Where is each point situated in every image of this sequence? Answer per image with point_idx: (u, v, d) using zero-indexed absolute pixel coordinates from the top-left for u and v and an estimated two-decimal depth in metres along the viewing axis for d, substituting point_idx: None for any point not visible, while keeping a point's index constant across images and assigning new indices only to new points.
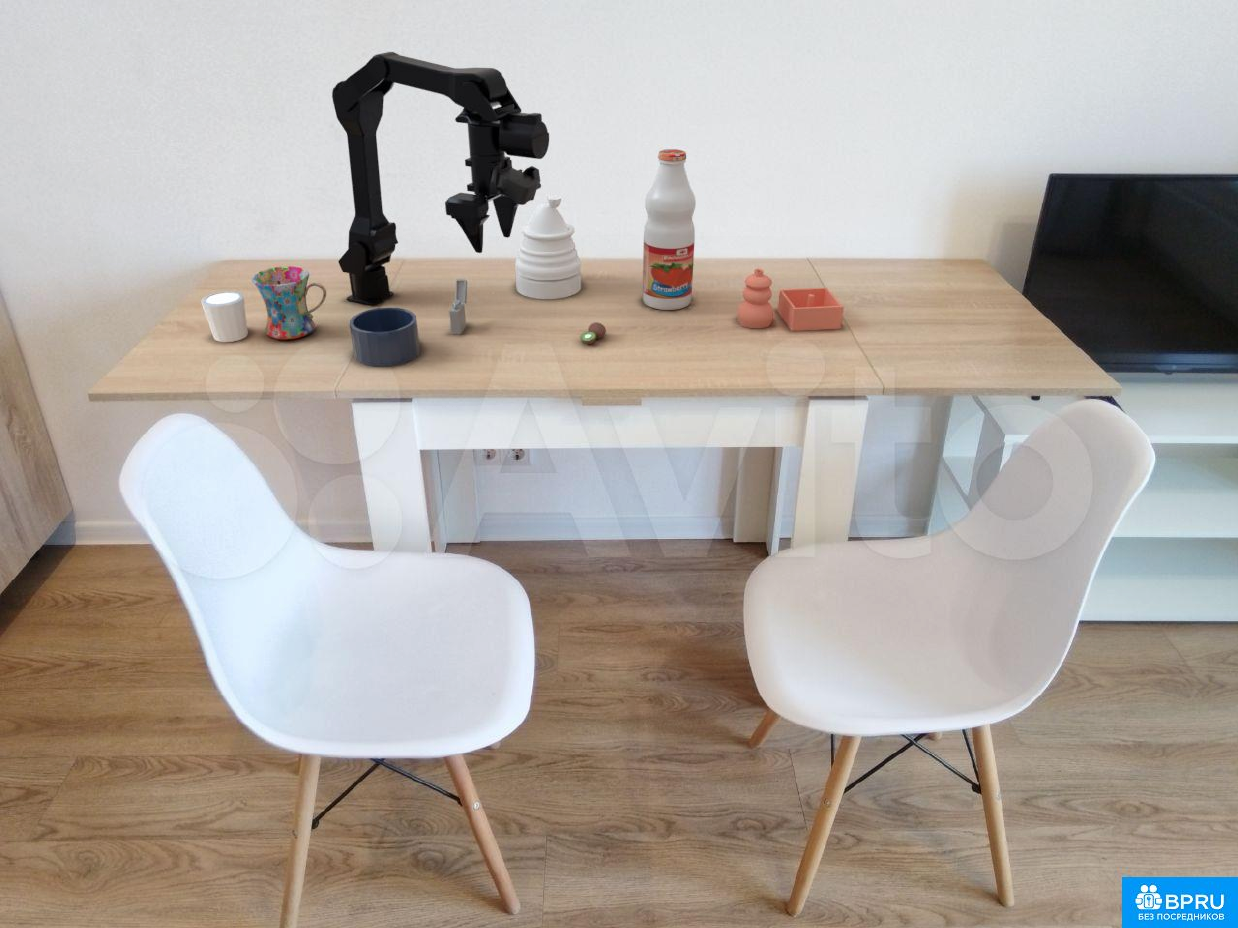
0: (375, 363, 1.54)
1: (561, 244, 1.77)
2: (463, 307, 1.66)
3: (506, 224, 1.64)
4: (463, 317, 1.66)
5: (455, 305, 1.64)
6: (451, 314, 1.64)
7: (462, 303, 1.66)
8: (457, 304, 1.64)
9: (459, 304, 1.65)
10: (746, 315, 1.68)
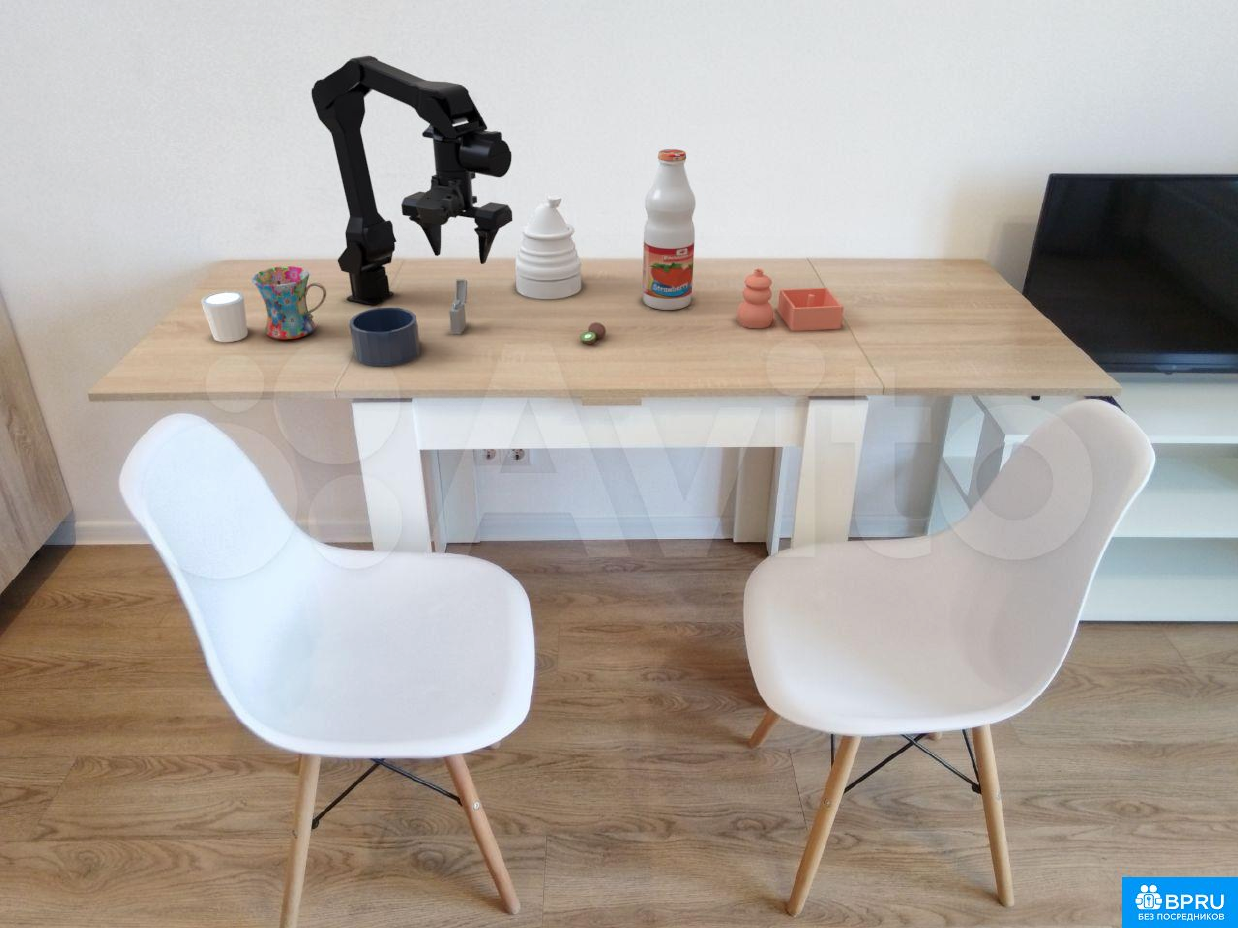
0: (375, 363, 1.54)
1: (561, 244, 1.77)
2: (463, 307, 1.66)
3: None
4: (463, 317, 1.66)
5: (455, 305, 1.64)
6: (451, 314, 1.64)
7: (462, 303, 1.66)
8: (457, 304, 1.64)
9: (459, 304, 1.65)
10: (746, 315, 1.68)
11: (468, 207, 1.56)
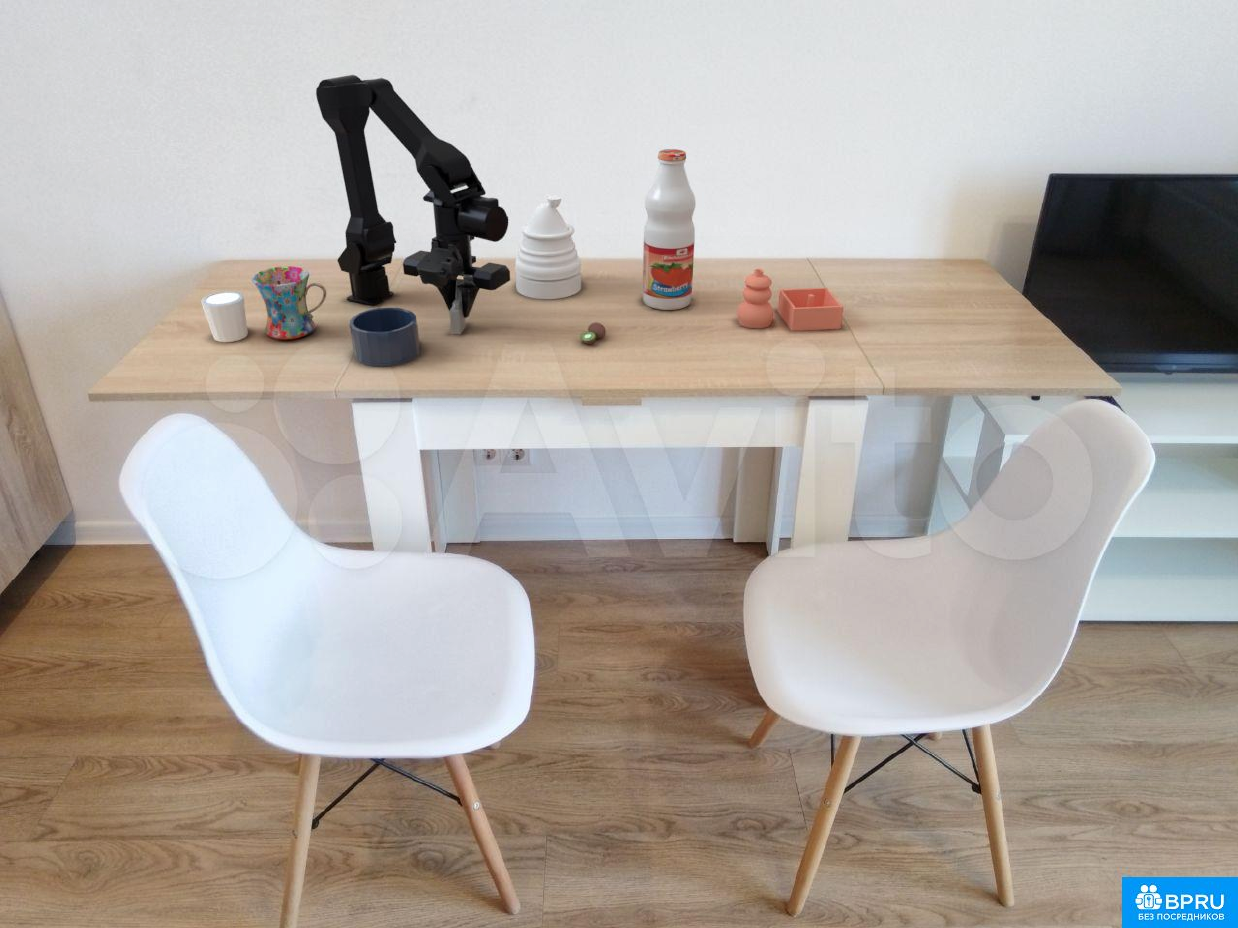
0: (375, 363, 1.54)
1: (561, 244, 1.77)
2: None
3: None
4: (463, 317, 1.66)
5: (455, 305, 1.64)
6: (451, 314, 1.64)
7: None
8: (457, 304, 1.64)
9: (459, 304, 1.65)
10: (746, 315, 1.68)
11: (467, 267, 1.61)
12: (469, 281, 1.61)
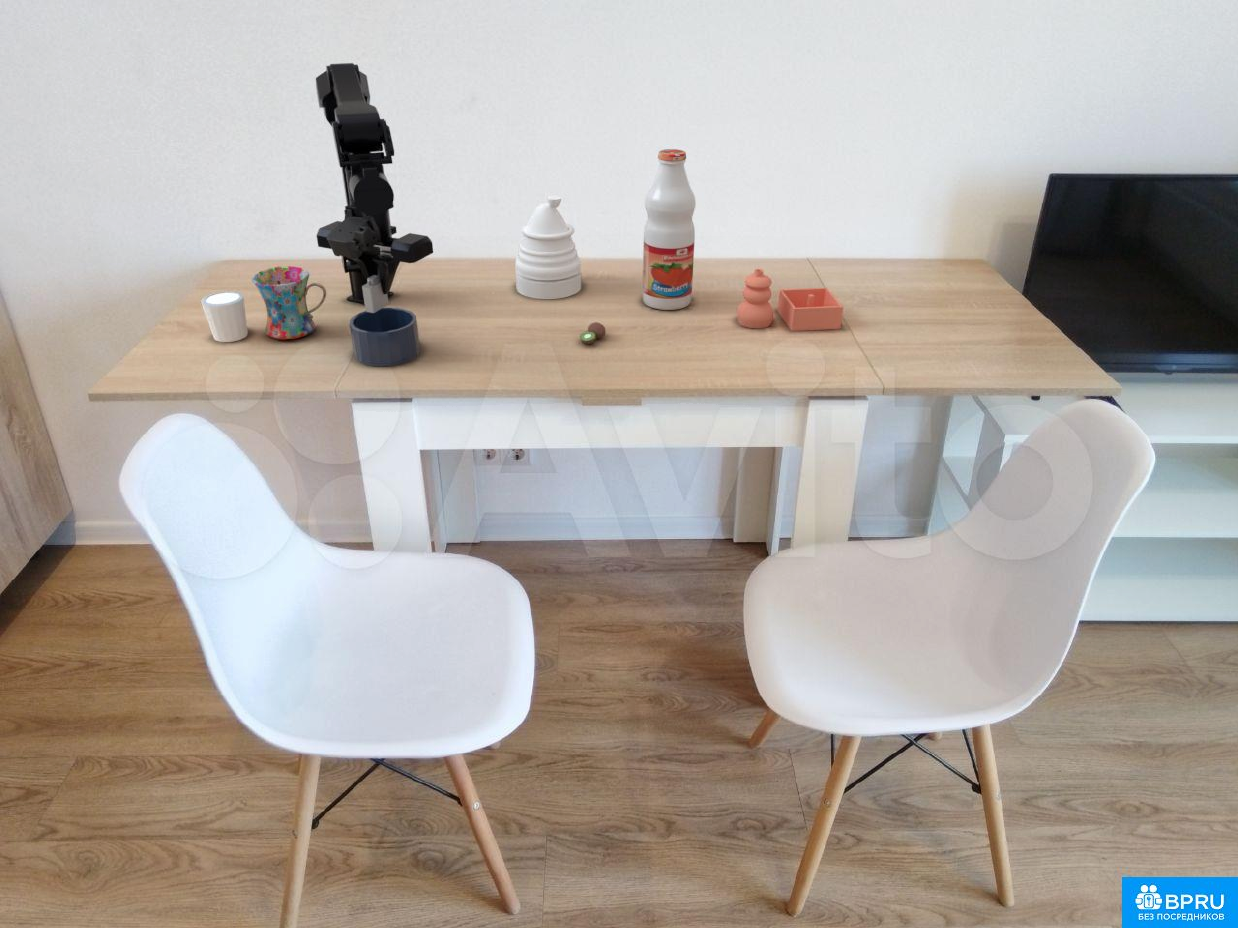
0: (375, 363, 1.54)
1: (561, 244, 1.77)
2: None
3: None
4: (382, 295, 1.52)
5: (369, 281, 1.50)
6: (363, 290, 1.50)
7: None
8: (372, 280, 1.50)
9: (375, 280, 1.50)
10: (746, 315, 1.68)
11: (385, 238, 1.47)
12: (386, 253, 1.47)
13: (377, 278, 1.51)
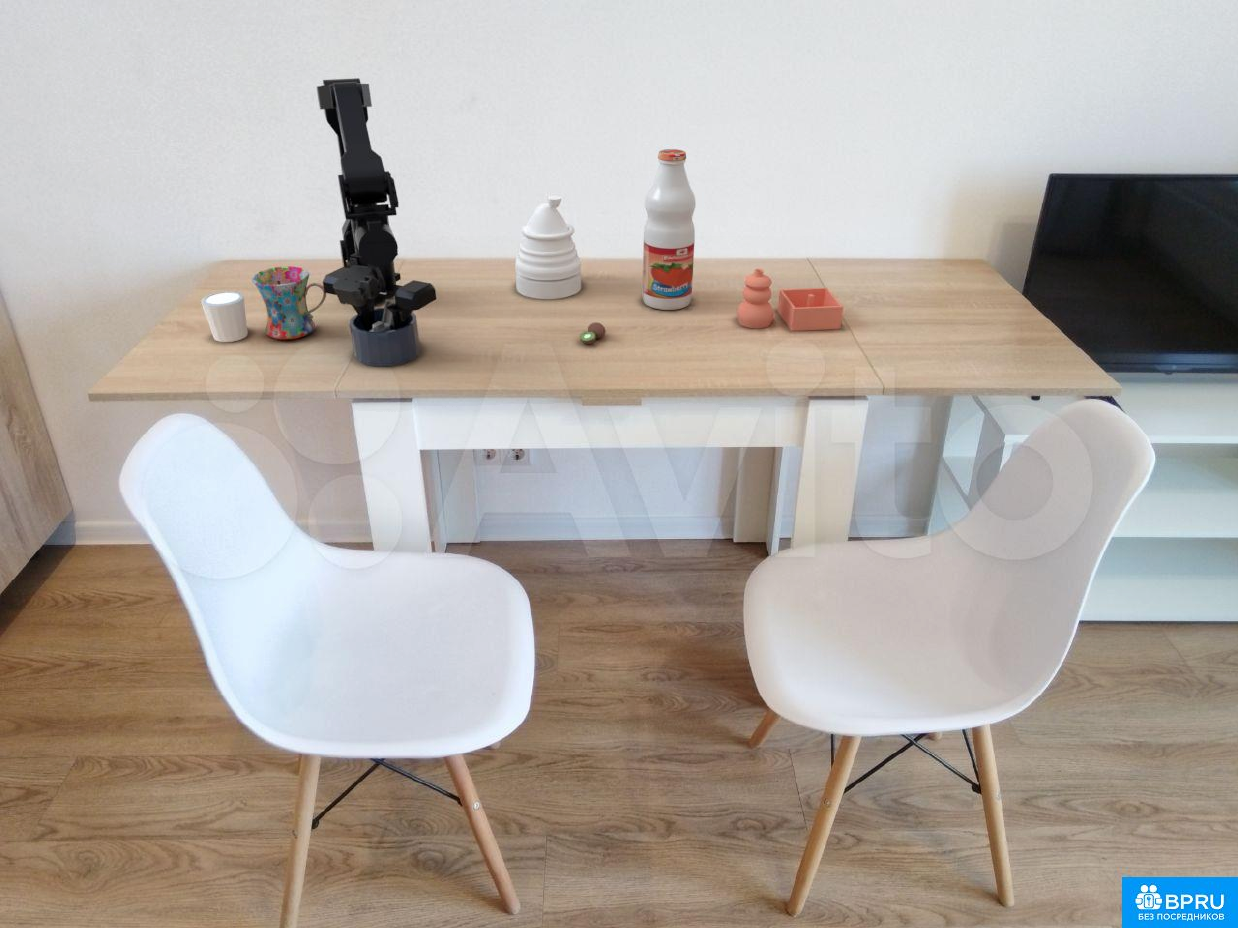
0: (375, 363, 1.54)
1: (561, 244, 1.77)
2: (387, 330, 1.56)
3: None
4: None
5: (374, 327, 1.54)
6: None
7: (387, 325, 1.56)
8: (377, 326, 1.54)
9: (380, 326, 1.54)
10: (746, 315, 1.68)
11: (390, 286, 1.51)
12: None
13: (382, 324, 1.55)
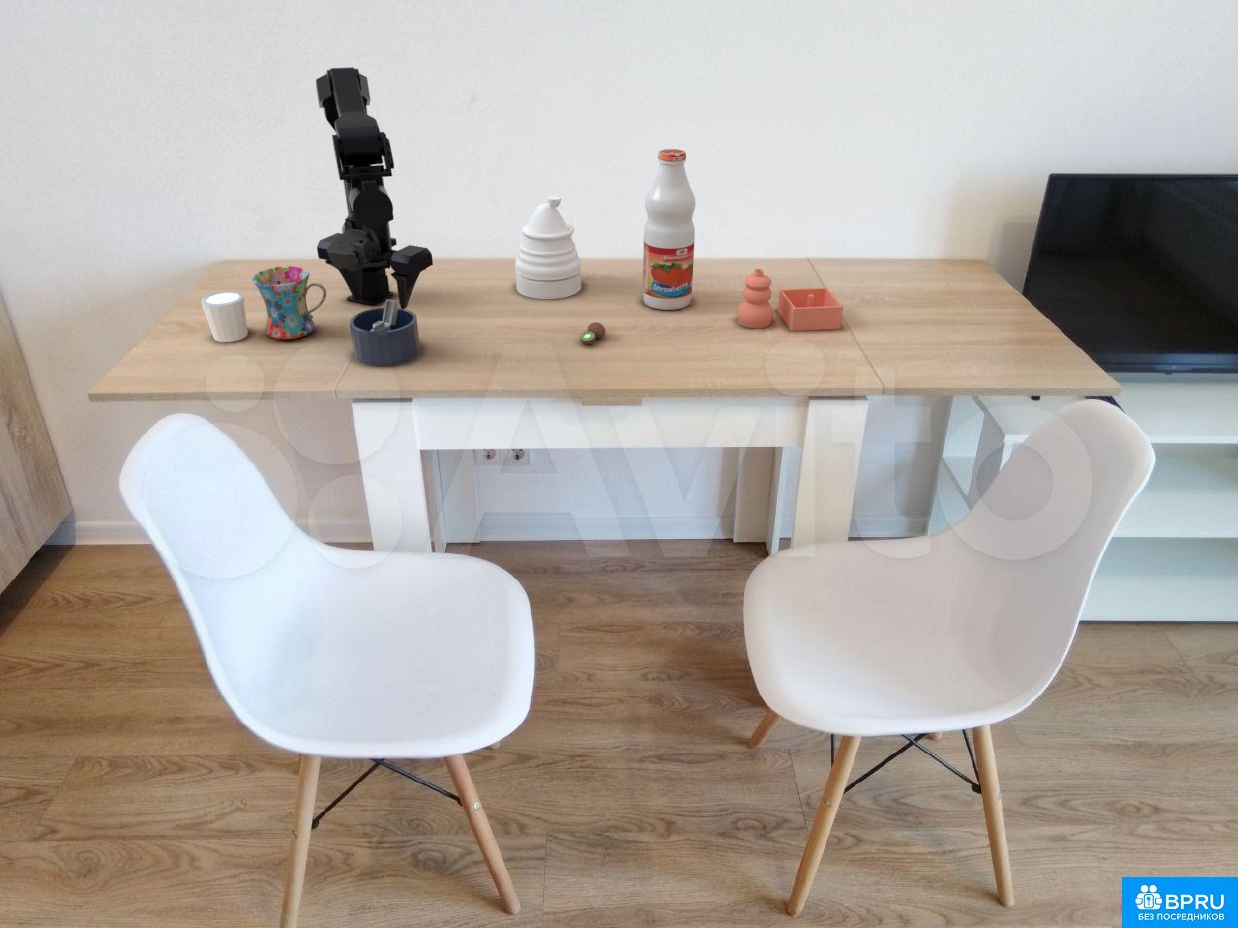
0: (375, 363, 1.54)
1: (561, 244, 1.77)
2: (387, 329, 1.56)
3: None
4: None
5: (374, 327, 1.54)
6: None
7: (387, 325, 1.56)
8: (377, 326, 1.54)
9: (380, 326, 1.55)
10: (746, 315, 1.68)
11: (385, 250, 1.47)
12: None
13: (382, 324, 1.55)
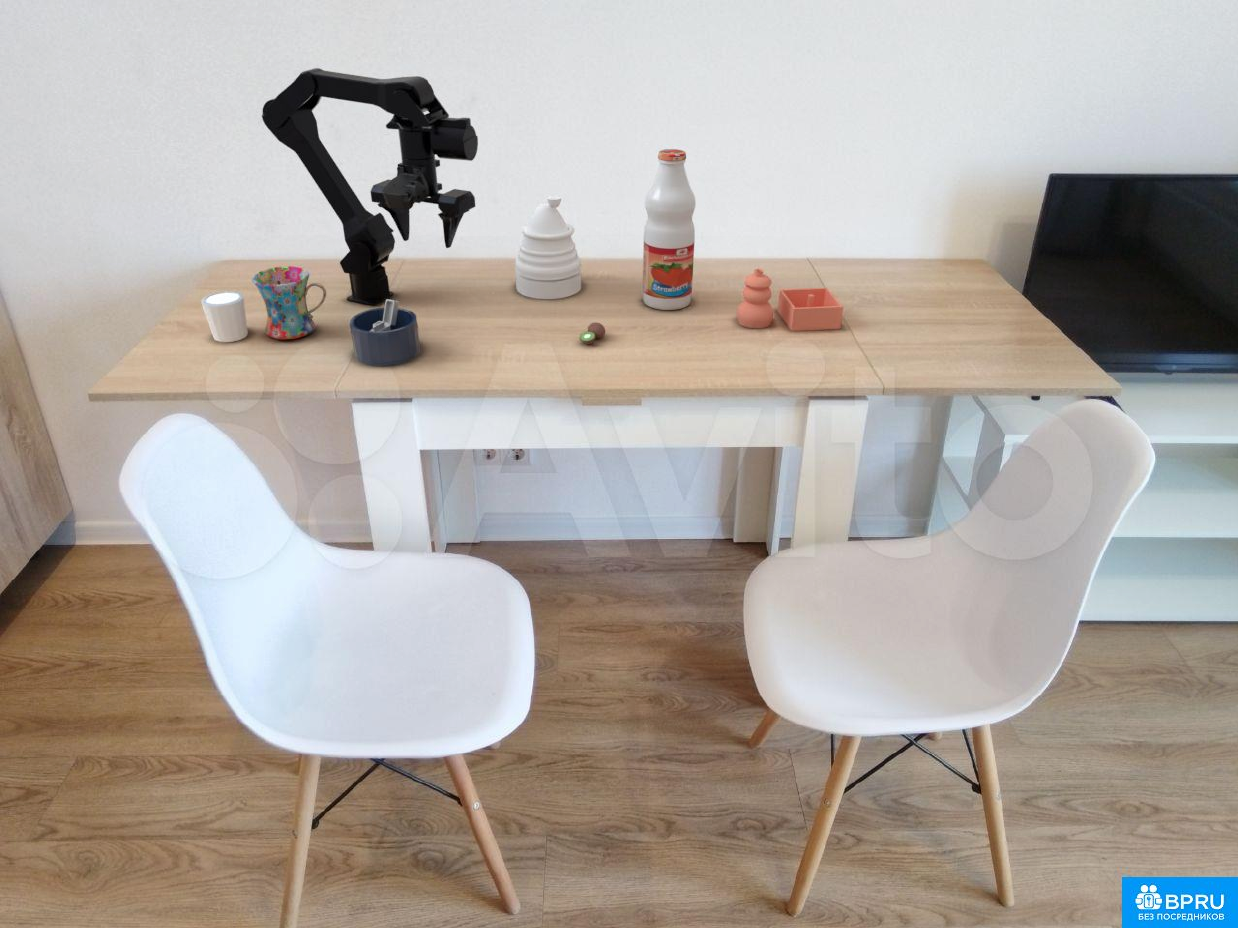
0: (375, 363, 1.54)
1: (561, 244, 1.77)
2: (387, 329, 1.56)
3: None
4: None
5: (374, 327, 1.54)
6: None
7: (387, 325, 1.56)
8: (377, 326, 1.54)
9: (380, 326, 1.55)
10: (746, 315, 1.68)
11: (433, 193, 1.64)
12: None
13: (382, 324, 1.55)
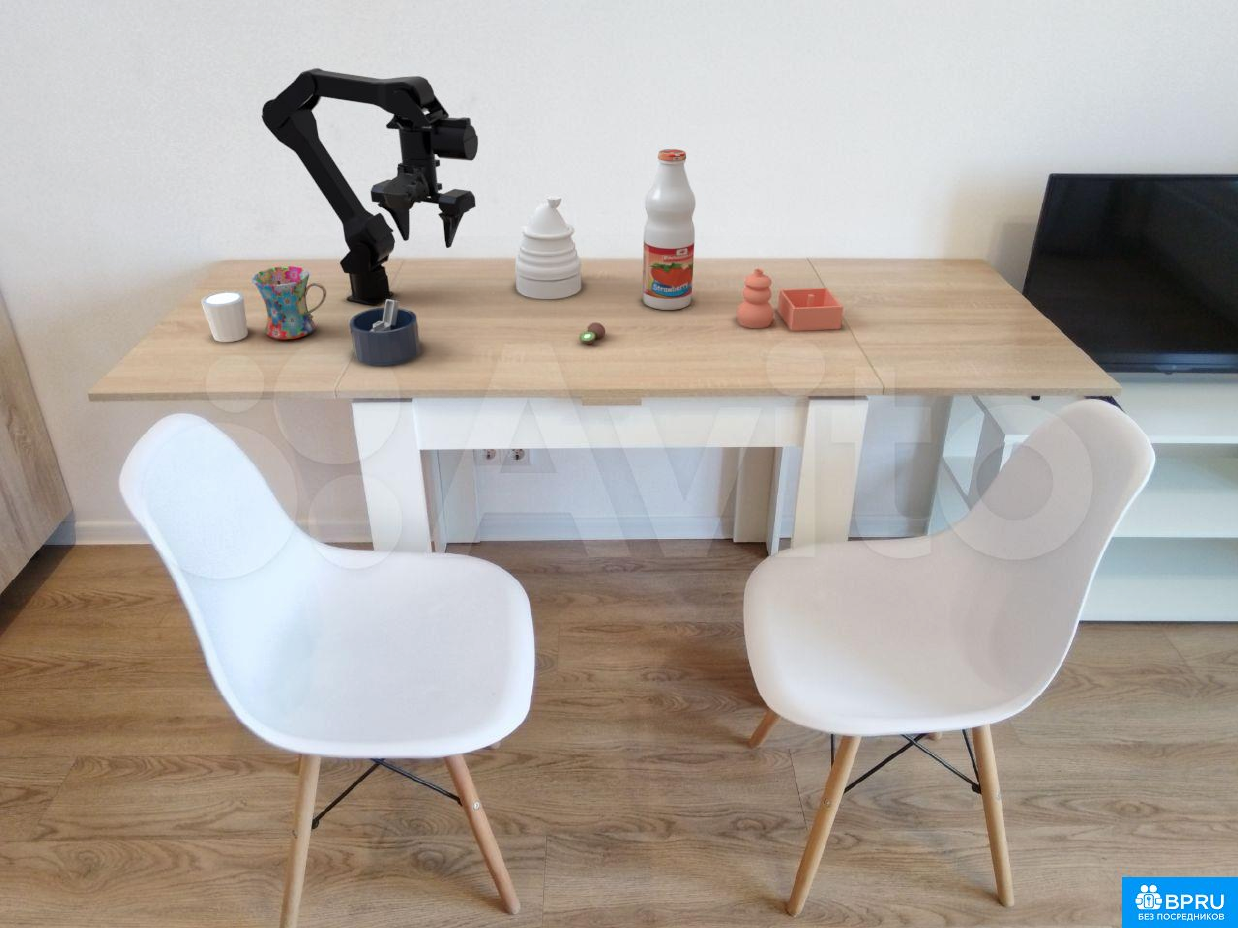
0: (375, 363, 1.54)
1: (561, 244, 1.77)
2: (387, 329, 1.56)
3: None
4: None
5: (374, 327, 1.54)
6: None
7: (387, 325, 1.56)
8: (377, 326, 1.54)
9: (380, 326, 1.55)
10: (746, 315, 1.68)
11: (433, 193, 1.64)
12: None
13: (382, 324, 1.55)
